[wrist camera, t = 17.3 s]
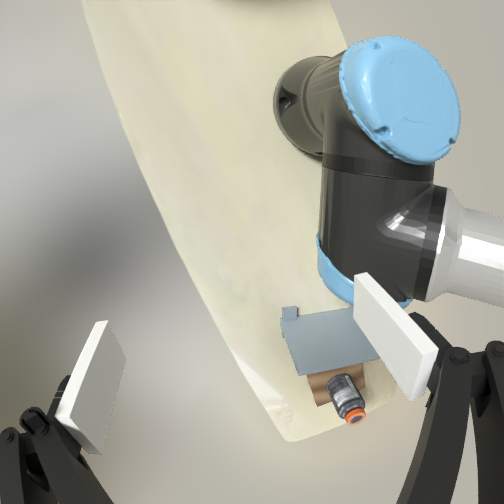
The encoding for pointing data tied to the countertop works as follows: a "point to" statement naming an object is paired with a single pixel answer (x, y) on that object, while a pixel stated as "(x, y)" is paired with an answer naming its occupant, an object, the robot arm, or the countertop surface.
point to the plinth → (321, 378)
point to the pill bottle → (346, 398)
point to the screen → (325, 340)
